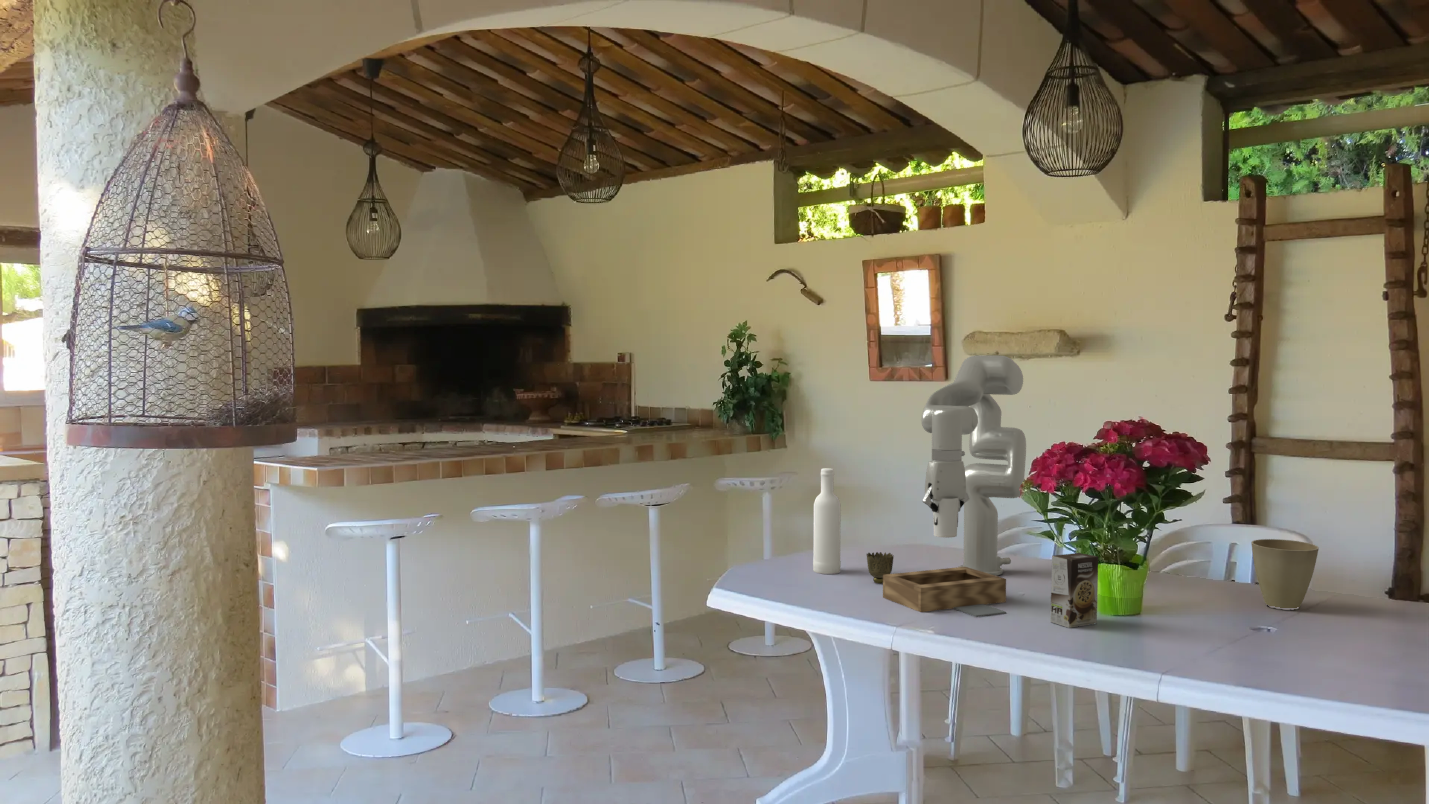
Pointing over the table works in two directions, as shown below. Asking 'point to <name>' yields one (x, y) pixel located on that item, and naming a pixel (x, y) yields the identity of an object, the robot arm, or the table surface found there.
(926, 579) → the crate
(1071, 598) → the coffee box
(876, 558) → the cup
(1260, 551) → the plant pot
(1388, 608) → the table surface
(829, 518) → the bottle
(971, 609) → the coaster
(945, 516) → the white tumbler
